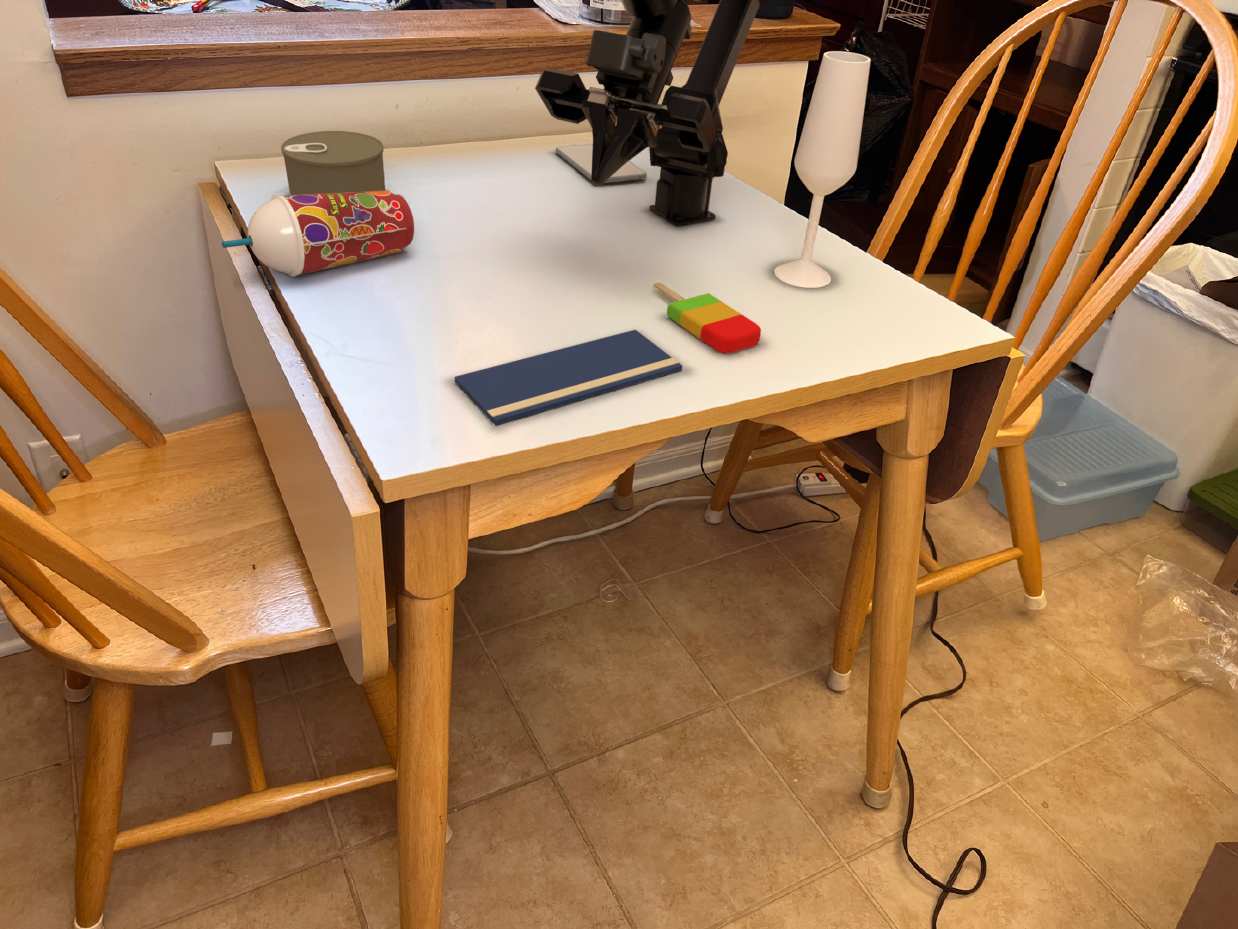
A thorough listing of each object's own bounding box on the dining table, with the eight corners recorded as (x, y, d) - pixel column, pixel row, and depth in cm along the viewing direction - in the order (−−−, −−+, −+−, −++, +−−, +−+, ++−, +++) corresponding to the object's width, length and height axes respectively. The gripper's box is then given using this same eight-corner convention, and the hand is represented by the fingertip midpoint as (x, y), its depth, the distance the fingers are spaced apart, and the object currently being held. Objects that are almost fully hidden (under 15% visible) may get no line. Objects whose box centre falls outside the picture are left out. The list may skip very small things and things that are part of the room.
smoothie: (414, 182, 99) (226, 203, 87) (425, 260, 102) (245, 290, 90) (381, 181, 105) (201, 200, 93) (392, 254, 108) (219, 281, 97)
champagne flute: (796, 258, 111) (838, 46, 96) (842, 277, 107) (893, 60, 93) (762, 272, 107) (800, 53, 92) (809, 293, 103) (856, 68, 89)
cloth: (634, 334, 92) (635, 328, 92) (682, 370, 87) (682, 364, 87) (454, 382, 83) (454, 375, 82) (495, 426, 78) (495, 419, 77)
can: (394, 215, 113) (389, 159, 109) (292, 221, 109) (284, 164, 105) (380, 181, 122) (376, 128, 118) (286, 186, 118) (278, 132, 114)
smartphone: (604, 142, 139) (649, 173, 128) (604, 148, 139) (648, 180, 128) (553, 146, 135) (595, 178, 125) (553, 152, 136) (594, 185, 125)
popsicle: (722, 357, 90) (725, 340, 89) (634, 295, 99) (636, 280, 98) (764, 344, 93) (767, 328, 91) (674, 285, 102) (676, 270, 101)
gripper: (546, -19, 90) (486, 121, 89) (721, 10, 84) (661, 161, 83) (580, 51, 101) (528, 178, 99) (738, 82, 95) (685, 217, 93)
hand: (595, 182), depth 93 cm, fingers closed
